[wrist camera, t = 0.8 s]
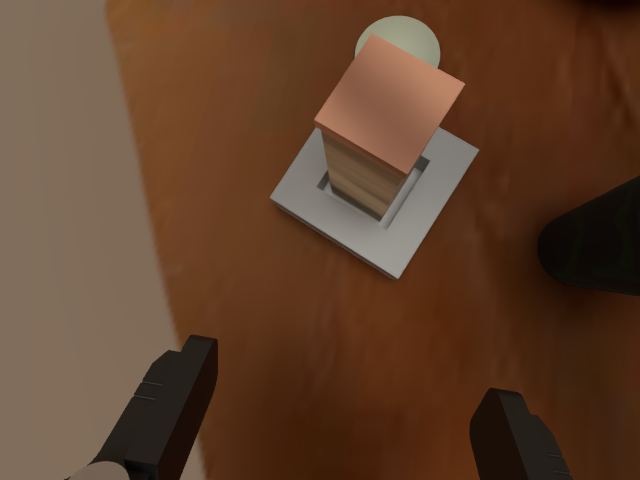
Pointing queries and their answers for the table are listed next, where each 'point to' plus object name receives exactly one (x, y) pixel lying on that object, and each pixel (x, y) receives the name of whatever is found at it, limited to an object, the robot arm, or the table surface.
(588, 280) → the cup
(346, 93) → the plug
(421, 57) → the pad
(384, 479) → the table surface
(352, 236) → the socket block
